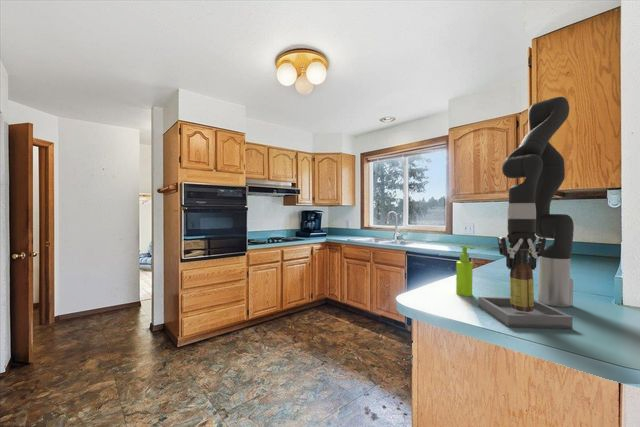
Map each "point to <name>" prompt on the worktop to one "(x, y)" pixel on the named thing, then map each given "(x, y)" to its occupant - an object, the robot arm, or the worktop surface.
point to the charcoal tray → (525, 314)
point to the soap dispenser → (464, 273)
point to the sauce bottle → (521, 283)
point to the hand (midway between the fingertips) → (521, 269)
